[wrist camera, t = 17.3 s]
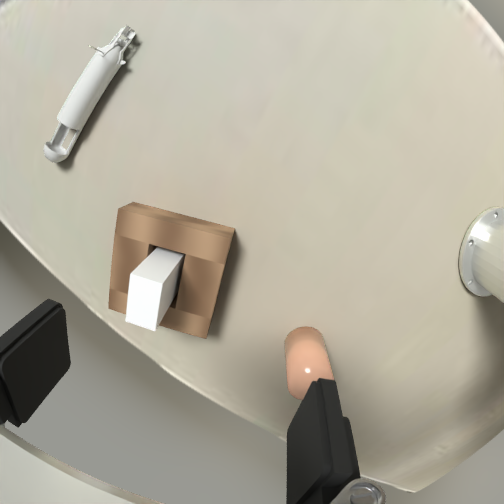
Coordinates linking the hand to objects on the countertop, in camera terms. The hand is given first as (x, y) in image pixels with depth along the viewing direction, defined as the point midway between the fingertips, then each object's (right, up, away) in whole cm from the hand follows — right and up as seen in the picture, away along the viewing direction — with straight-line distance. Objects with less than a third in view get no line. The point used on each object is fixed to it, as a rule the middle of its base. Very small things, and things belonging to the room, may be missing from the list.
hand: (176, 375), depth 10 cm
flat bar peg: (-7, +3, +25) cm, 27 cm away
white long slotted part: (-16, +23, +20) cm, 34 cm away
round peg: (+9, -7, +28) cm, 31 cm away
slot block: (-7, +3, +25) cm, 27 cm away
